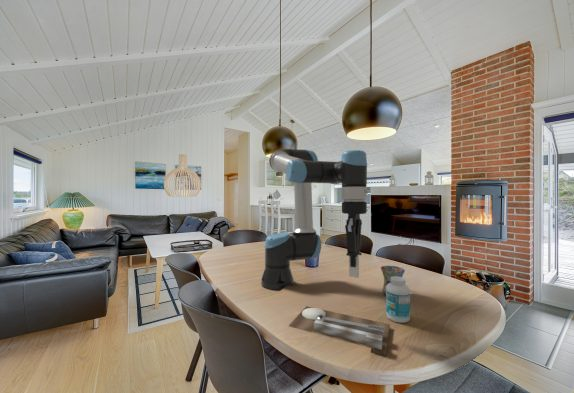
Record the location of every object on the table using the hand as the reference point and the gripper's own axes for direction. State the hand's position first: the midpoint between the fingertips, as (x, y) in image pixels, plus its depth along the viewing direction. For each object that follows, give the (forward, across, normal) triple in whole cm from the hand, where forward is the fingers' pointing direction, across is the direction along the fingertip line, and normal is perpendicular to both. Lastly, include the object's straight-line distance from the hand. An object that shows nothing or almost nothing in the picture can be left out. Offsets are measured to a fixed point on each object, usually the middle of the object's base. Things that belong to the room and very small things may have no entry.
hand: (354, 276), depth 76 cm
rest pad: (+15, 0, +14) cm, 20 cm away
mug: (+17, +36, -8) cm, 41 cm away
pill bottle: (+17, +13, -12) cm, 24 cm away
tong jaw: (+15, -5, +1) cm, 15 cm away
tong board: (+16, -3, +4) cm, 17 cm away
